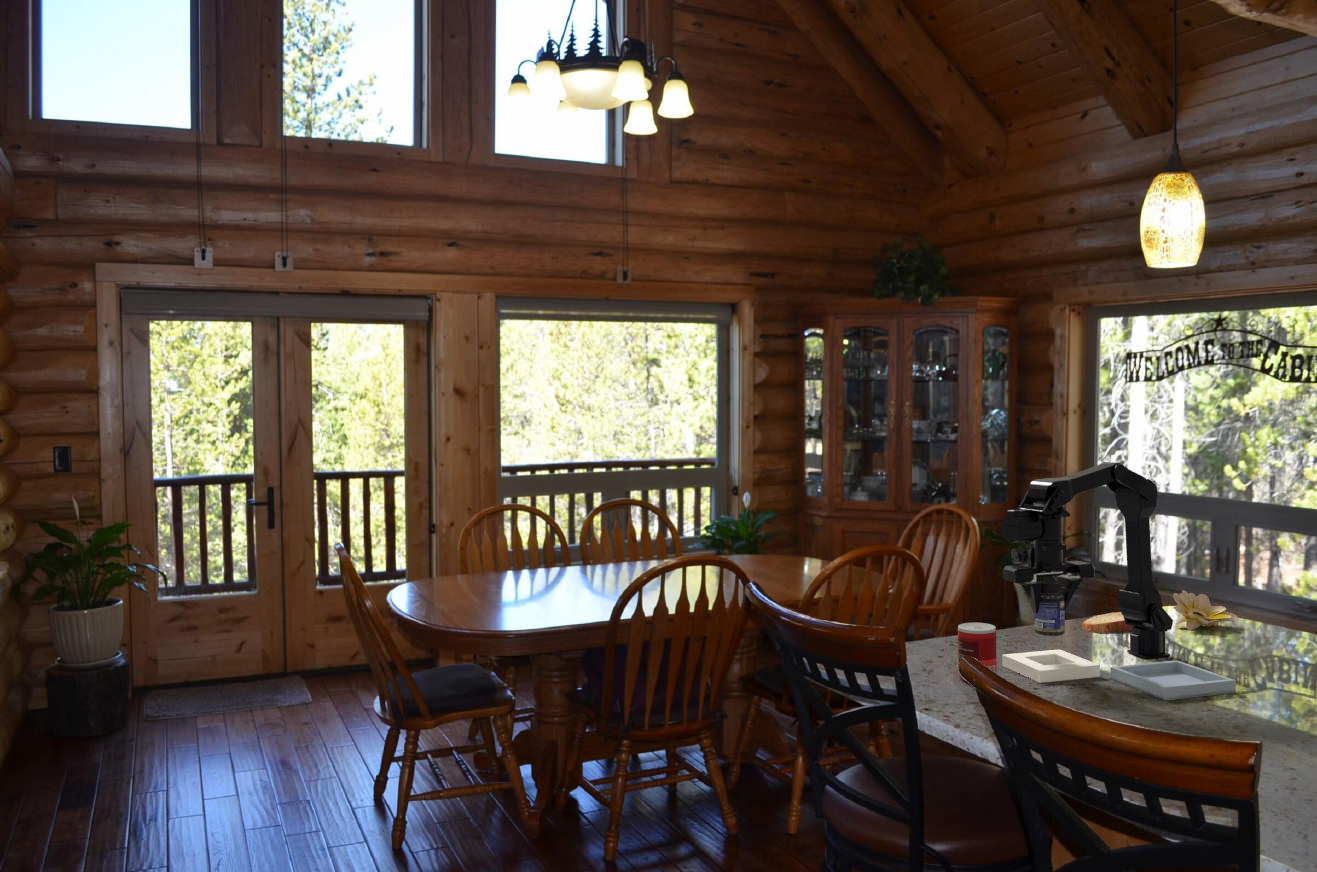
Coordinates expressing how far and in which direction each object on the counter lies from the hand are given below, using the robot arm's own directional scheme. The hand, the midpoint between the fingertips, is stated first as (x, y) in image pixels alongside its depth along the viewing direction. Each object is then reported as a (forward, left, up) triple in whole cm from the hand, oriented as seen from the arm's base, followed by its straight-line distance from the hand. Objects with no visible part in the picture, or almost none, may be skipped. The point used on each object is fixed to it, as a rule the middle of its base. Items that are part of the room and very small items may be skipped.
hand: (1049, 612), depth 221 cm
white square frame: (0, 0, -13) cm, 13 cm away
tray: (-16, +17, -13) cm, 27 cm away
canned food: (+17, 0, -13) cm, 21 cm away
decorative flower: (-57, -23, -13) cm, 63 cm away
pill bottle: (0, 0, -5) cm, 5 cm away
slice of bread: (-40, -30, -13) cm, 52 cm away
